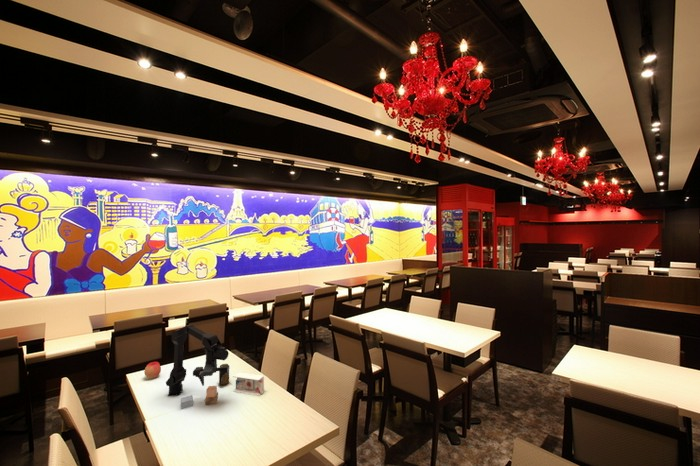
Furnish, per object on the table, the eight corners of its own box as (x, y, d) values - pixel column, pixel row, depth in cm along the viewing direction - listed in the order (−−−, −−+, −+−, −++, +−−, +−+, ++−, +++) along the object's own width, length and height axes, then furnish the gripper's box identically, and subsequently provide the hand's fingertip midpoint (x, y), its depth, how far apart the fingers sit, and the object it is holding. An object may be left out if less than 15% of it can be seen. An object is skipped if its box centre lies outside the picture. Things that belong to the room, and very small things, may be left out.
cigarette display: (232, 391, 191) (232, 376, 192) (238, 387, 197) (238, 372, 197) (260, 395, 186) (260, 380, 186) (265, 391, 191) (265, 376, 191)
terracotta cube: (206, 397, 177) (206, 389, 177) (208, 393, 181) (208, 386, 181) (214, 397, 177) (214, 389, 177) (216, 393, 182) (216, 385, 182)
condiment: (228, 380, 207) (227, 362, 207) (232, 384, 200) (232, 366, 200) (216, 383, 202) (216, 365, 202) (220, 388, 196) (220, 369, 196)
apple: (145, 376, 214) (145, 361, 214) (161, 373, 218) (161, 359, 218) (143, 382, 205) (143, 367, 206) (160, 379, 209) (159, 364, 210)
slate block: (181, 409, 172) (181, 402, 172) (180, 404, 177) (180, 397, 177) (193, 406, 175) (193, 399, 175) (192, 401, 180) (192, 394, 180)
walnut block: (205, 406, 175) (204, 399, 175) (206, 400, 181) (206, 393, 181) (216, 404, 177) (216, 397, 177) (217, 399, 183) (217, 392, 183)
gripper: (189, 364, 170) (189, 393, 170) (224, 362, 173) (225, 390, 173) (195, 357, 181) (196, 383, 181) (229, 354, 184) (229, 380, 184)
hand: (211, 384), depth 179 cm, fingers open, 9 cm apart
